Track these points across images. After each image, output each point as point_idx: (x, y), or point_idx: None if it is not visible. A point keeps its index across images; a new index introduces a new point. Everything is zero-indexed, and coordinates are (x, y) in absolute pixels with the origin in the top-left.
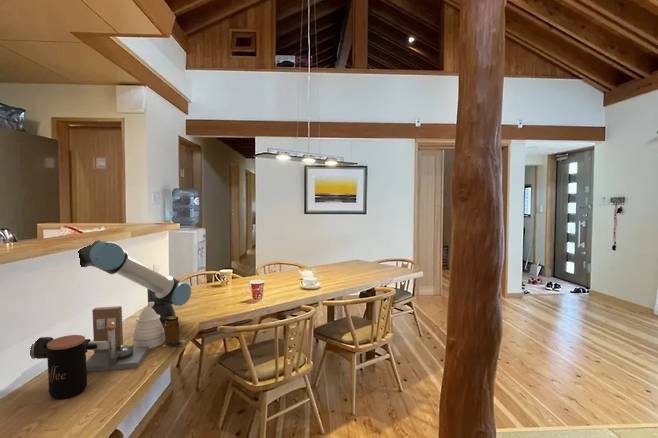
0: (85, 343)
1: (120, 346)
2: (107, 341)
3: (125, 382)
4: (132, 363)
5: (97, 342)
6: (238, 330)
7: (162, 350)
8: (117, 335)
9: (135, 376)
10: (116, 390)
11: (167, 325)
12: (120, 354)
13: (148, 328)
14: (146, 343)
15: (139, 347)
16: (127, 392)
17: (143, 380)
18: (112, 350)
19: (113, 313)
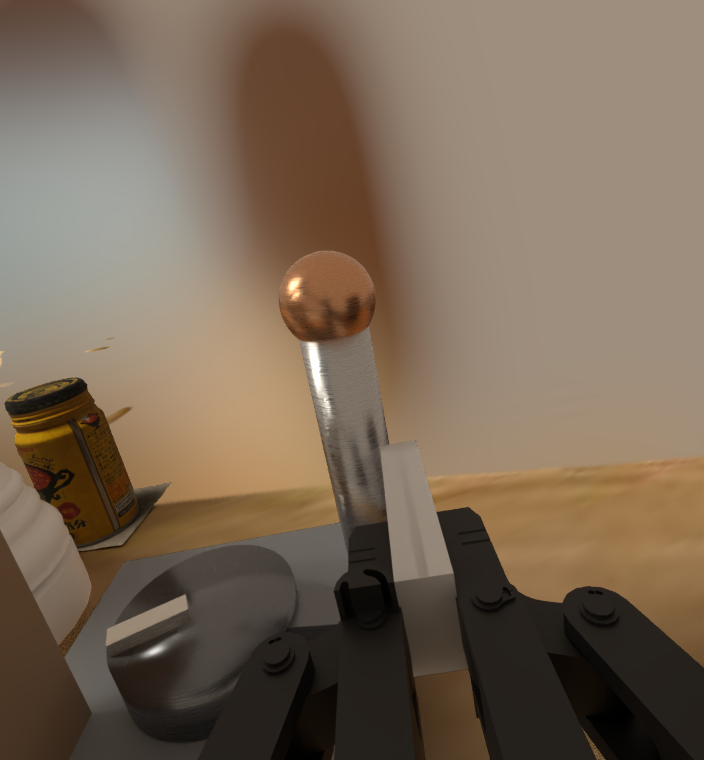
0: (482, 593)
1: (155, 620)
2: (397, 443)
3: (574, 522)
4: None
5: (428, 490)
6: (123, 414)
7: (175, 530)
8: (10, 607)
9: (494, 513)
10: (678, 519)
11: (78, 424)
12: (296, 589)
13: (15, 490)
14: (68, 583)
15: (110, 601)
16: (667, 476)
17: (529, 474)
18: None
19: None
